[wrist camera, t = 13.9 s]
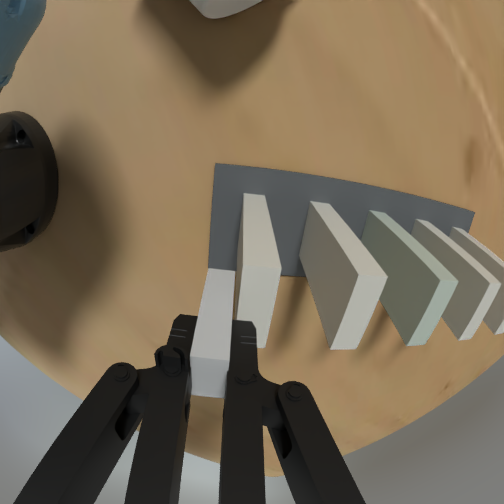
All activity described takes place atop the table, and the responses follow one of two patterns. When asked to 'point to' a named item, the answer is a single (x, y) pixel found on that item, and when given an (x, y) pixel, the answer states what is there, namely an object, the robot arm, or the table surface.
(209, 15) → the mug
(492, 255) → the tile
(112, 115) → the table surface
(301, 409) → the robot arm
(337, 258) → the tile
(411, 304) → the tile
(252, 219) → the tile
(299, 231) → the strip
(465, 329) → the tile
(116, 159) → the table surface
